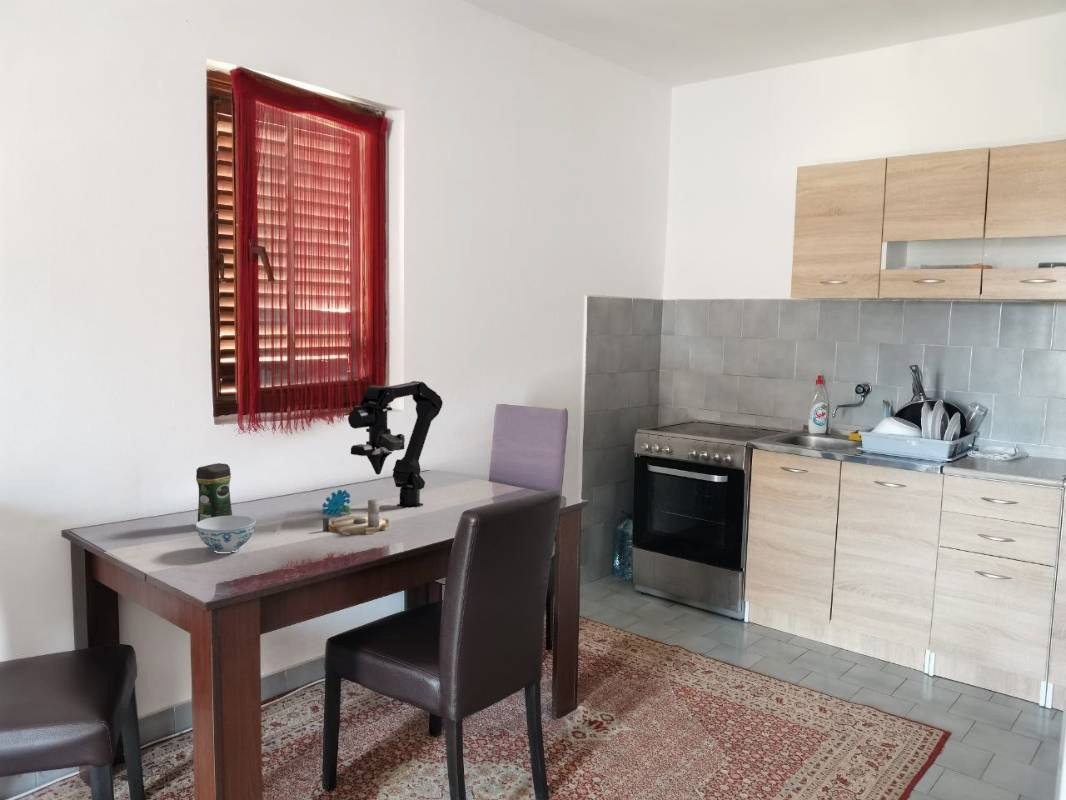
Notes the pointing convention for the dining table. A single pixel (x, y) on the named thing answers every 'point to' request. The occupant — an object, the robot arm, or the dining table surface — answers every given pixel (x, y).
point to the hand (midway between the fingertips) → (378, 474)
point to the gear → (337, 503)
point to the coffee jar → (214, 491)
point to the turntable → (361, 522)
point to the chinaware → (226, 532)
